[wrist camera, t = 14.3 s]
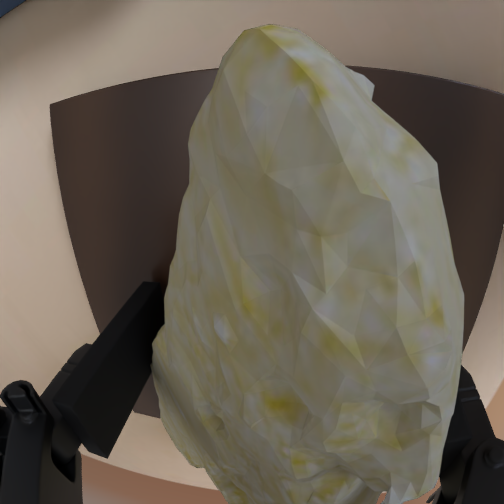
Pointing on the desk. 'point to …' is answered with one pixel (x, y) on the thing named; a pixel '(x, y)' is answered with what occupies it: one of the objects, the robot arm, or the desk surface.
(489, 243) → the board
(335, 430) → the pale grey rough stone
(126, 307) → the robot arm
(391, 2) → the desk surface
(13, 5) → the blue rectangular frame
